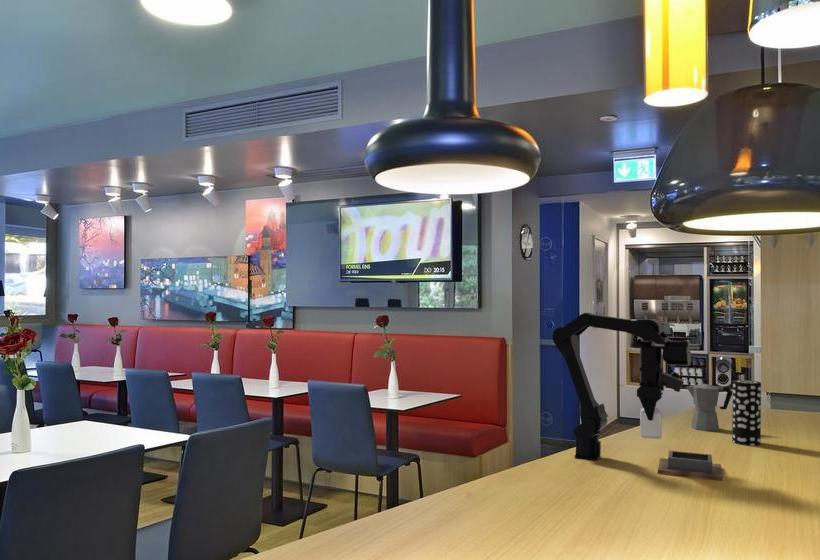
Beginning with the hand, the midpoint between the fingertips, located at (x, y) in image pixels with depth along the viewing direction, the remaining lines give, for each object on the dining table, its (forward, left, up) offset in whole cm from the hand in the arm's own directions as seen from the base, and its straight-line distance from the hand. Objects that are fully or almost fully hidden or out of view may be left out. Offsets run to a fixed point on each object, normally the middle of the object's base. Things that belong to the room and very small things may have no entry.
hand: (650, 419), depth 189 cm
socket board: (+10, 0, -13) cm, 17 cm away
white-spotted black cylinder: (+27, +46, -14) cm, 55 cm away
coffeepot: (+16, +65, -14) cm, 68 cm away
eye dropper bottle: (0, 0, -5) cm, 5 cm away
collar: (+10, 0, -13) cm, 17 cm away
